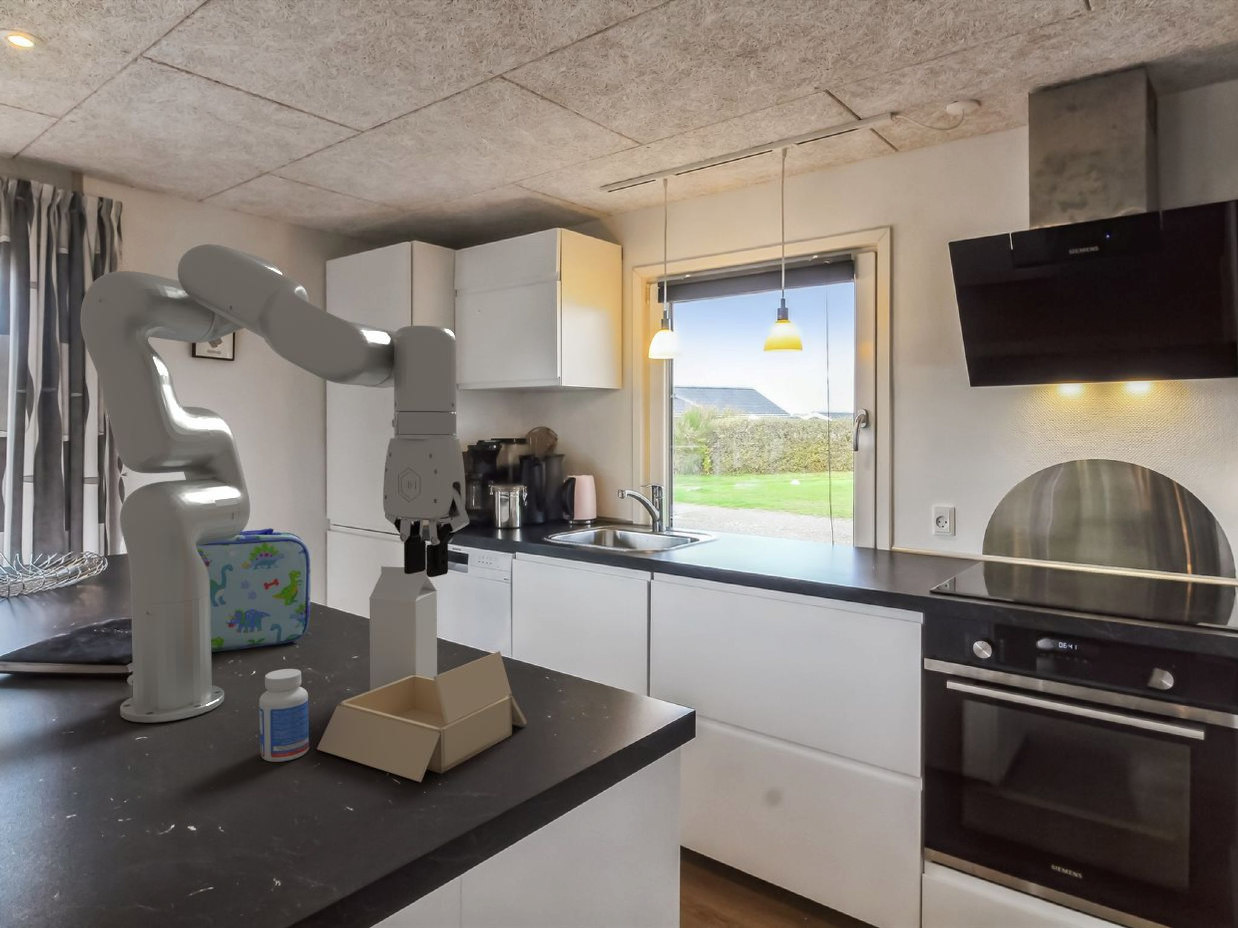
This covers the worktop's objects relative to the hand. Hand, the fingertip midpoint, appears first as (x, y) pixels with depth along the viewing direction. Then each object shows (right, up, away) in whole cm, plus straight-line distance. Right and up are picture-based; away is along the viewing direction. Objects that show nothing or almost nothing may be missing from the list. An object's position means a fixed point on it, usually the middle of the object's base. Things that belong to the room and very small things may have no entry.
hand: (426, 572), depth 97 cm
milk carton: (-7, -21, +17) cm, 27 cm away
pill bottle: (-16, -22, -4) cm, 27 cm away
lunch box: (-45, -19, +42) cm, 64 cm away
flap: (+8, -16, -4) cm, 18 cm away
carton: (-2, -21, +2) cm, 21 cm away
